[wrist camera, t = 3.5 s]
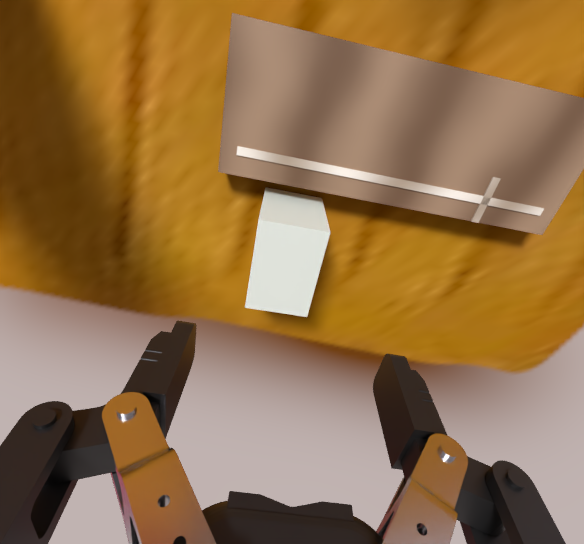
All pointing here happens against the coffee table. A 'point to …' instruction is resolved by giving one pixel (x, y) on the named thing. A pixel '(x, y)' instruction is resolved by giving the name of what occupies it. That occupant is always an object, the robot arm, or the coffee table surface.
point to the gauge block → (287, 252)
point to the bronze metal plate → (396, 128)
